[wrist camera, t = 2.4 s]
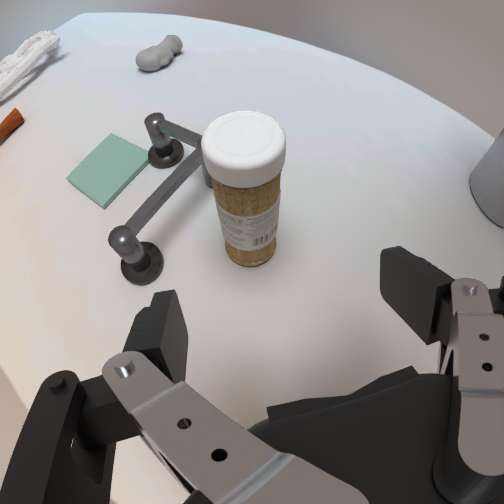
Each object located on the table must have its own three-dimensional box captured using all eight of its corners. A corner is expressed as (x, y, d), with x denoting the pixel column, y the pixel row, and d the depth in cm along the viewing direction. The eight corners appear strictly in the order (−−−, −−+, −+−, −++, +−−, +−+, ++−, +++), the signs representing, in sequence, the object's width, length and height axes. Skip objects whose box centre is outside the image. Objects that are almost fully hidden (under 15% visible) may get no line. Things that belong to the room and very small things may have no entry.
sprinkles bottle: (263, 215, 29) (265, 99, 17) (284, 257, 27) (302, 150, 15) (217, 232, 28) (189, 121, 16) (235, 276, 27) (215, 178, 14)
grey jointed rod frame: (166, 137, 34) (154, 102, 29) (242, 175, 31) (240, 137, 26) (75, 233, 29) (48, 206, 24) (144, 293, 26) (120, 271, 21)
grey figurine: (149, 83, 41) (133, 67, 41) (190, 60, 43) (172, 46, 43) (146, 65, 37) (129, 50, 37) (191, 42, 39) (172, 28, 39)
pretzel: (-28, 142, 41) (-45, 125, 35) (-20, 103, 50) (-32, 89, 44) (69, 52, 44) (56, 30, 38) (58, 34, 53) (48, 18, 47)
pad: (112, 136, 34) (111, 133, 34) (154, 157, 32) (152, 154, 32) (68, 181, 32) (65, 178, 31) (104, 209, 30) (102, 206, 29)
